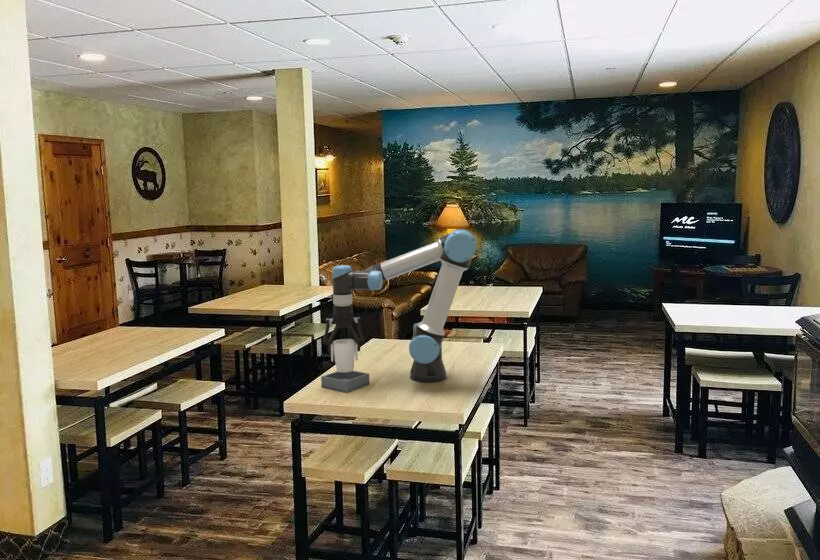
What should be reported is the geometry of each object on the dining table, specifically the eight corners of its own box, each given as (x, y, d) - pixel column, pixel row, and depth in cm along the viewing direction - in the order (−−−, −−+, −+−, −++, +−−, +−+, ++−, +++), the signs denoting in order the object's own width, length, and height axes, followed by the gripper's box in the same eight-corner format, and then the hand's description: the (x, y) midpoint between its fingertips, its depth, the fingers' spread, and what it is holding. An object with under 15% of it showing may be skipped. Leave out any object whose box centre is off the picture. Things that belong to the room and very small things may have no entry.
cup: (344, 374, 265) (342, 345, 264) (329, 371, 272) (327, 342, 270) (361, 369, 272) (359, 340, 270) (346, 366, 278) (344, 337, 276)
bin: (369, 384, 273) (369, 373, 273) (346, 392, 263) (346, 381, 262) (344, 379, 282) (344, 368, 281) (321, 387, 271) (321, 376, 270)
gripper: (369, 301, 273) (370, 356, 276) (315, 304, 270) (316, 359, 273) (371, 305, 265) (372, 360, 269) (315, 307, 262) (317, 363, 265)
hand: (344, 359), depth 271 cm, fingers closed on cup, 9 cm apart
